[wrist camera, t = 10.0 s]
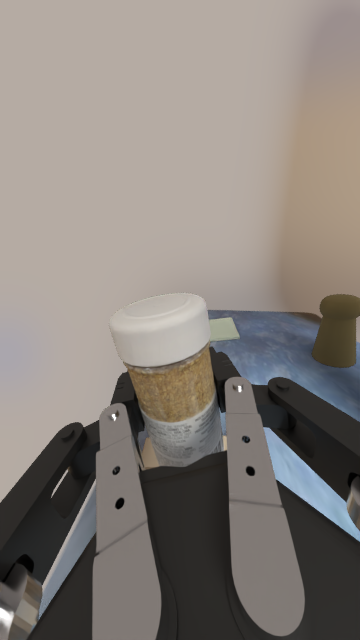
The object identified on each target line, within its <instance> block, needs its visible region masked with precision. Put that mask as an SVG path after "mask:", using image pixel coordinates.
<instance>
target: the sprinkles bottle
mask: <svg viewBox="0 0 360 640" xmlns="http://www.w3.org/2000/svg"><path fill="white" fill-rule="evenodd" d="M109 327H110V330H111V333H112V337H113V340H114V343H115V346H116V349H117V352H118V354H119V357H120V358H121V359H122V360H123V363H124V365H125V366H126V367H127V368H128V372H129V374H130V377H131V379H132V383H133V386H134V389H135V392H136V395H137V398H138V405H139V408H140V411H141V414H142V417H143V420H144V423H145V425H146V428H147V431H148V434H149V437H150V440H151V443H152V446H153V449H154V452H155V455H156V458H157V461H158V464H159V466H176V467H186V466H188V465H190V464H192V463H194V462H195V461H197V460H199V459H201V458H203V457H204V456H206V455H209V454H213V453H217V452H221V451H224V442H223V435H222V428H221V420H220V412H219V405H218V397H217V390H216V385H215V382H214V378H213V371H212V365H211V358H210V352H209V346H210V336H211V331H210V324H209V317H208V312H207V306H206V302H205V300H204V299H203V298H202V297H200V296H198V295H195V294H190V293H171V294H164V295H159V296H154V297H149V298H146V299H143V300H139V301H137V302H134V303H131V304H129V305H127V306H125V307H123V308H121V309H120V310H118V311H117V312H115V313H114V314H113V315H112V317H111V318H110V321H109Z"/></svg>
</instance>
